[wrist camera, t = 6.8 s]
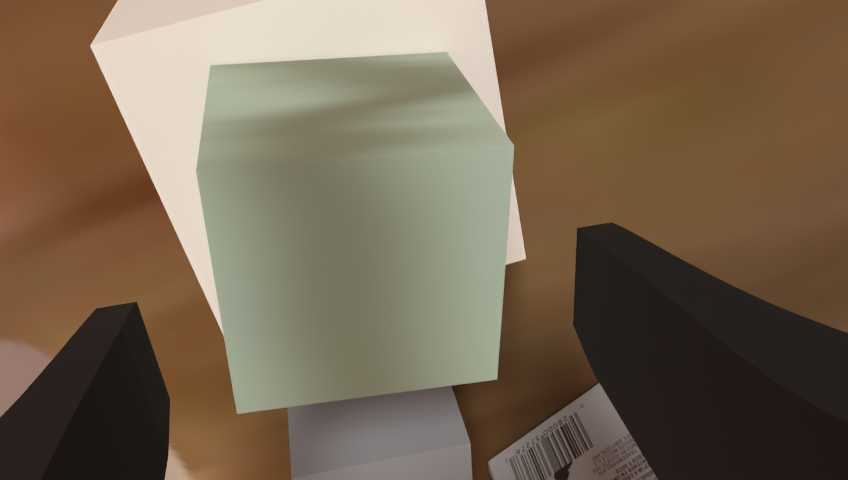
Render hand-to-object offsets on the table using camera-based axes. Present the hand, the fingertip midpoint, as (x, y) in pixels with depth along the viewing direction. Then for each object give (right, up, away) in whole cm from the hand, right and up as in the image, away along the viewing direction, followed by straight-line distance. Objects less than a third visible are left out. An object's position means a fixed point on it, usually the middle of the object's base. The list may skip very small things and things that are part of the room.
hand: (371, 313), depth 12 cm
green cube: (-1, +3, +5) cm, 6 cm away
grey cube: (-1, -4, +14) cm, 15 cm away
